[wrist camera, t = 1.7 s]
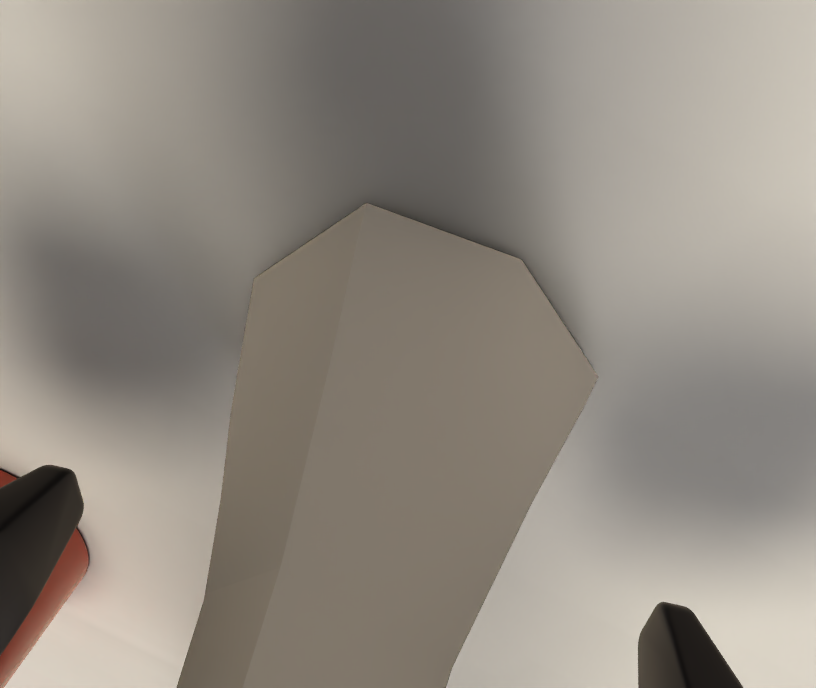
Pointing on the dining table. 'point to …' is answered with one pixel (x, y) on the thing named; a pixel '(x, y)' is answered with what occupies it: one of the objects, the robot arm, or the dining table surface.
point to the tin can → (44, 600)
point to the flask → (379, 456)
